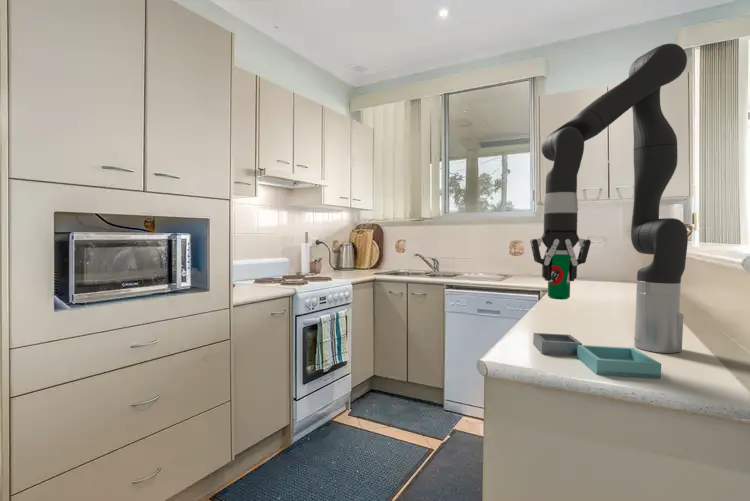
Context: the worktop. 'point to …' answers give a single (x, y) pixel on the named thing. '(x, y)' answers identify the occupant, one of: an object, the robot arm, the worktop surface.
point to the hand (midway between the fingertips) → (558, 280)
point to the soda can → (559, 275)
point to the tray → (618, 361)
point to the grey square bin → (556, 344)
